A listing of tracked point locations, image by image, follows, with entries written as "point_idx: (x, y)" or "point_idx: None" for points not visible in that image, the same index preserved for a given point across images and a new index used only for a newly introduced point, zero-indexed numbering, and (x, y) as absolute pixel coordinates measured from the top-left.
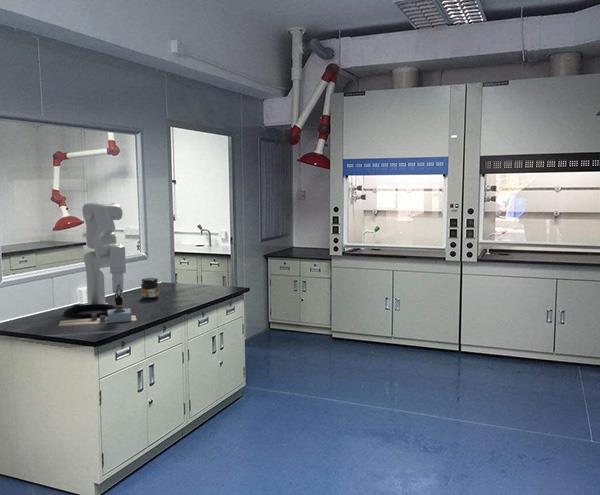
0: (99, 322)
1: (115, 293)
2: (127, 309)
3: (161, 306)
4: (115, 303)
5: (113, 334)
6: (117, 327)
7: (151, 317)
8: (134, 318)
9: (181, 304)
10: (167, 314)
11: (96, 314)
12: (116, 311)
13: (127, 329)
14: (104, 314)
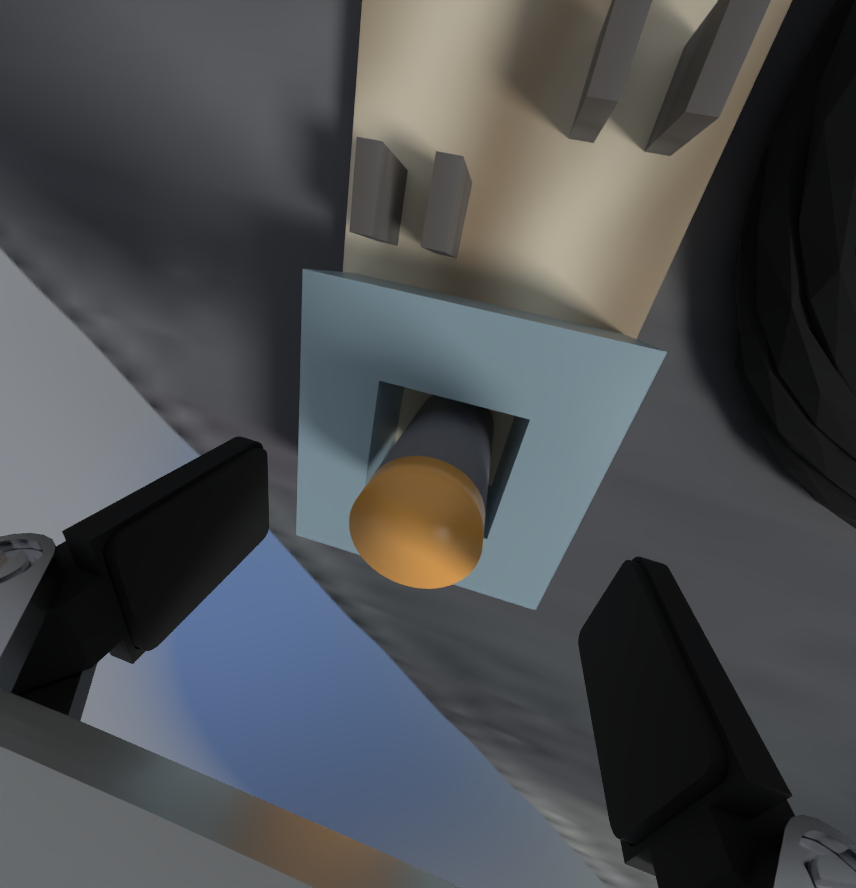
0: (398, 155)
1: (784, 820)
2: (489, 570)
3: None
4: (450, 493)
5: (9, 232)
6: (232, 331)
7: (455, 637)
8: None
9: None
10: (483, 721)
11: (604, 95)
12: (414, 427)
13: (152, 384)
14: (765, 314)
